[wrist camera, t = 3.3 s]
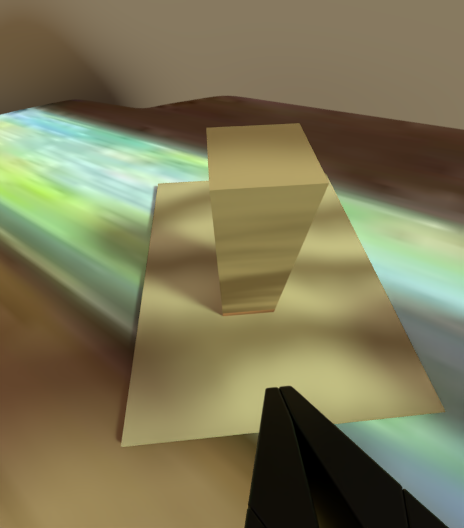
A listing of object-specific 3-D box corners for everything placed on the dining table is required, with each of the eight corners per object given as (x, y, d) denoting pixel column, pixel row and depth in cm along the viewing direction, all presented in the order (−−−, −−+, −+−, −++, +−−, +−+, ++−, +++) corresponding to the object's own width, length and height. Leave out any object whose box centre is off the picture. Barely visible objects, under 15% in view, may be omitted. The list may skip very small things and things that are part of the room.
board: (438, 411, 15) (445, 412, 14) (124, 445, 14) (120, 447, 13) (324, 178, 27) (326, 173, 27) (159, 187, 27) (158, 183, 26)
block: (273, 312, 18) (328, 183, 8) (223, 316, 17) (209, 190, 7) (265, 268, 20) (299, 123, 10) (220, 272, 20) (206, 128, 9)
